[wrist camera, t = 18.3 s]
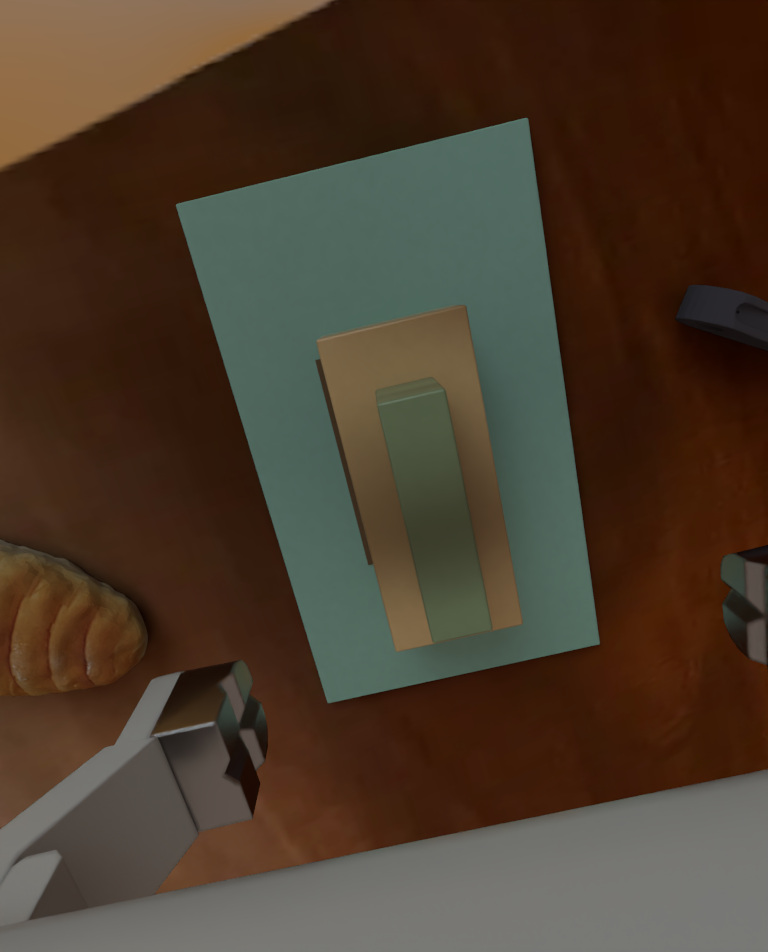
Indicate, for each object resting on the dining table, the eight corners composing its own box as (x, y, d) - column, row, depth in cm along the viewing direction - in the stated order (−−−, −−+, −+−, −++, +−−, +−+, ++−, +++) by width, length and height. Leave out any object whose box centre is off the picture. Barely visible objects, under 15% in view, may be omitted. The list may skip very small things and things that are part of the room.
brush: (323, 335, 22) (306, 345, 16) (449, 304, 22) (485, 303, 15) (391, 605, 25) (401, 705, 19) (501, 580, 25) (548, 673, 19)
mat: (180, 207, 21) (174, 203, 21) (523, 122, 21) (528, 116, 20) (328, 695, 27) (327, 704, 27) (595, 637, 27) (600, 645, 26)
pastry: (164, 564, 25) (131, 608, 22) (145, 691, 27) (111, 751, 23) (-58, 518, 24) (-133, 556, 21) (-63, 653, 26) (-132, 710, 22)
